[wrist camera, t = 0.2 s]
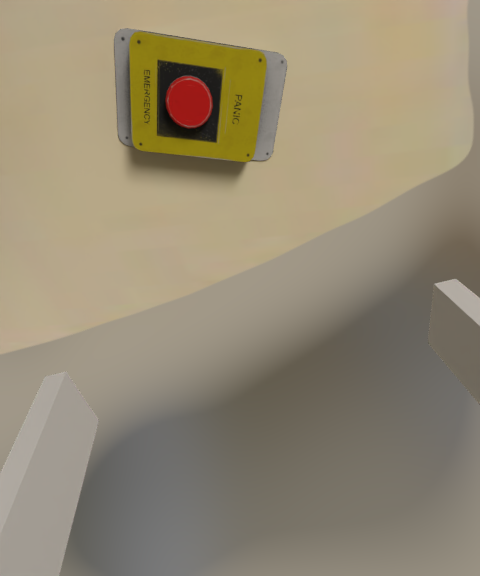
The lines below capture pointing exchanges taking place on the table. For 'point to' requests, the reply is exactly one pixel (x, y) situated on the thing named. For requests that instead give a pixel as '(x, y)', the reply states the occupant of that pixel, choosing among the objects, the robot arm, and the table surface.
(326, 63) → the table surface
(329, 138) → the table surface
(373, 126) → the table surface
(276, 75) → the emergency button
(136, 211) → the table surface
